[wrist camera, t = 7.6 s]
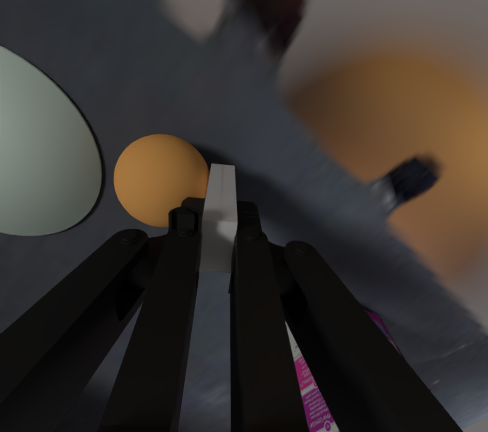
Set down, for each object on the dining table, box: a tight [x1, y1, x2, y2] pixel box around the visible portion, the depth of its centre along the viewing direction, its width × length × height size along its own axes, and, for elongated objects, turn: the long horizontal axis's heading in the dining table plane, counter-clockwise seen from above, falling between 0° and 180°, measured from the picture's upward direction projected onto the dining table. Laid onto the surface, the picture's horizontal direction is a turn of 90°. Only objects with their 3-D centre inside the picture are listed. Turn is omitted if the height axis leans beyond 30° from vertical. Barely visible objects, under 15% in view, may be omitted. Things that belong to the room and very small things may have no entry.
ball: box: [114, 134, 210, 227], centre depth 16 cm, size 6×6×6 cm
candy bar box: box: [286, 307, 406, 432], centre depth 20 cm, size 11×5×16 cm, turn 55°
